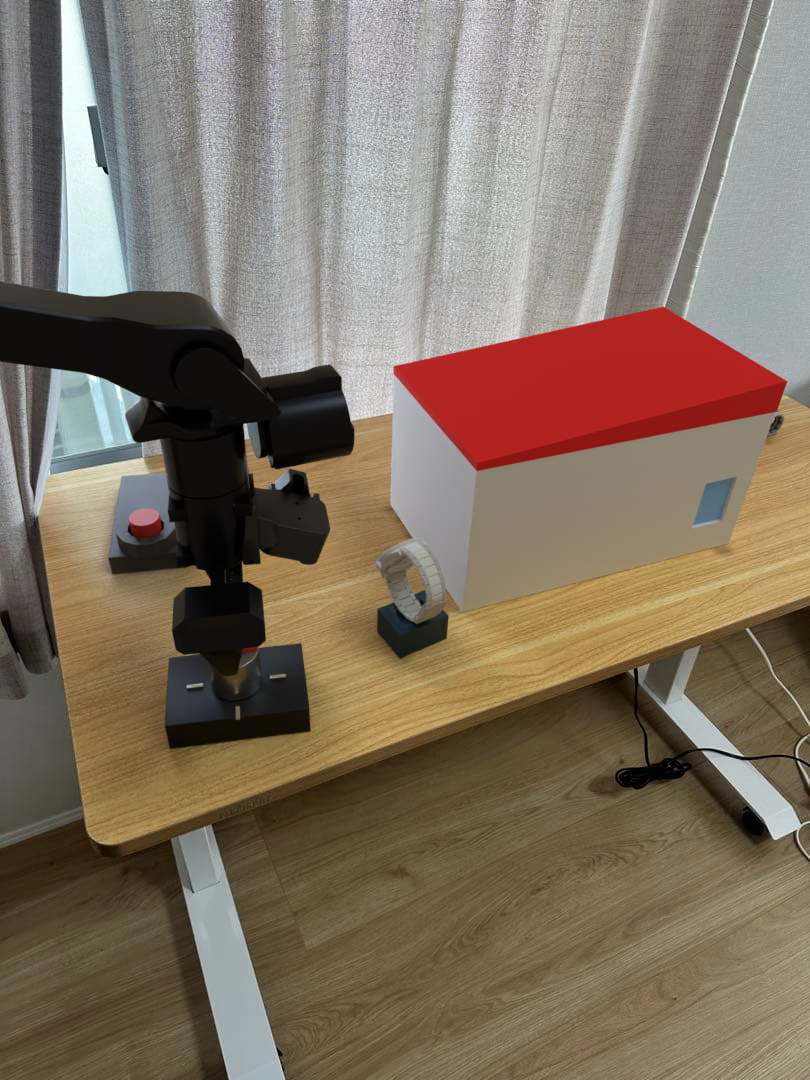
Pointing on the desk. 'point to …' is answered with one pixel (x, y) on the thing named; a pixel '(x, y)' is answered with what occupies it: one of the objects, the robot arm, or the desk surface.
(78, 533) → the desk surface
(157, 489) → the dark grey button base
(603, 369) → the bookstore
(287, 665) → the lock panel
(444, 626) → the watch
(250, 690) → the lock knob
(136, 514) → the bell button
